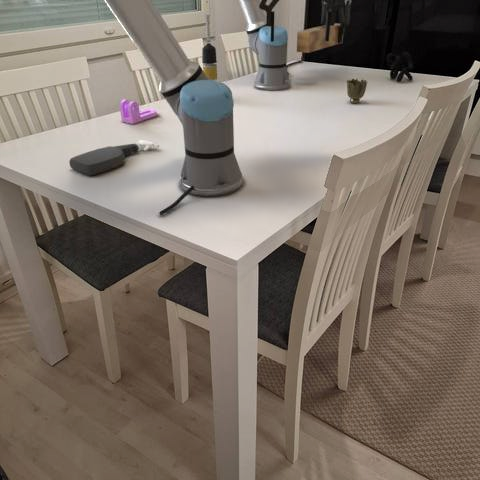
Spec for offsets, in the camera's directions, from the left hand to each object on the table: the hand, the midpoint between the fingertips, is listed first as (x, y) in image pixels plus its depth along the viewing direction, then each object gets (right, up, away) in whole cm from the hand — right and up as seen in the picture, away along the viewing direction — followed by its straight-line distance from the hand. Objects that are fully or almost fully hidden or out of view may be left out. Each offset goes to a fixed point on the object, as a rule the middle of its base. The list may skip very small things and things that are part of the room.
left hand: (299, 40), depth 112 cm
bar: (+21, +35, +84) cm, 94 cm away
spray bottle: (-49, -28, +13) cm, 58 cm away
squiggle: (+57, +22, +88) cm, 108 cm away
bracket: (-50, -7, +46) cm, 68 cm away
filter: (-26, +7, +67) cm, 72 cm away
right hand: (+28, +40, +92) cm, 104 cm away
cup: (+29, +2, +58) cm, 65 cm away
